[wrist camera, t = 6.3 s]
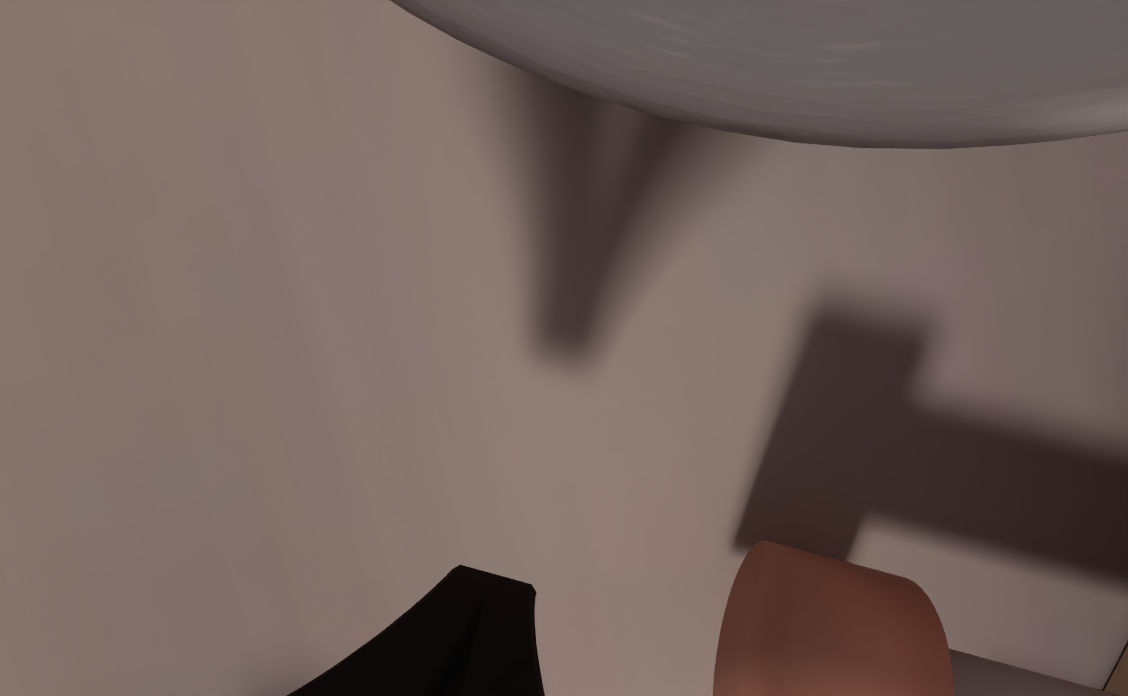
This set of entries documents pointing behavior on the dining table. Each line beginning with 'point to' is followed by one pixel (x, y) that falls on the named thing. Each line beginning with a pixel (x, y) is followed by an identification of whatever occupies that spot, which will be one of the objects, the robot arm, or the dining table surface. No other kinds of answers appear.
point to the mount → (1119, 677)
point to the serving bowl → (825, 64)
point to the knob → (849, 636)
